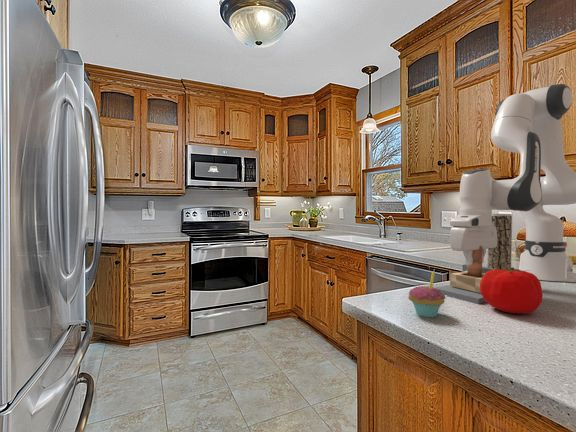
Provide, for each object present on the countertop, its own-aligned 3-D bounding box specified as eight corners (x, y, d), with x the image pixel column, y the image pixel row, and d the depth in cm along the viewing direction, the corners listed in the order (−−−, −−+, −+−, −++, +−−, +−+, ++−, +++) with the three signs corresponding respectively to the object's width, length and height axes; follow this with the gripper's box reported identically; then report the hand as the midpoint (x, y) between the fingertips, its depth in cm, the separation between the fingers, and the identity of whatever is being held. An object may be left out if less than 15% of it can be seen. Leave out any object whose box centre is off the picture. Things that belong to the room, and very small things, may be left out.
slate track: (466, 285, 108) (466, 264, 108) (511, 294, 96) (511, 271, 96) (433, 292, 99) (433, 269, 99) (478, 304, 87) (478, 277, 87)
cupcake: (449, 314, 79) (449, 267, 79) (437, 323, 73) (437, 272, 73) (416, 306, 85) (416, 263, 85) (402, 314, 79) (402, 267, 79)
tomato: (548, 323, 72) (548, 274, 72) (481, 314, 79) (481, 269, 79) (536, 308, 83) (536, 265, 83) (478, 301, 90) (478, 261, 89)
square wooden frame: (468, 282, 105) (468, 270, 105) (500, 288, 96) (500, 276, 96) (450, 286, 100) (450, 273, 100) (482, 293, 91) (482, 279, 91)
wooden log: (515, 288, 103) (515, 214, 103) (492, 287, 105) (493, 214, 104) (505, 283, 110) (505, 213, 109) (484, 283, 111) (484, 213, 111)
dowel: (471, 274, 101) (472, 244, 100) (484, 277, 97) (485, 245, 97) (464, 276, 99) (464, 244, 99) (477, 278, 95) (477, 246, 95)
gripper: (483, 219, 105) (482, 259, 106) (446, 220, 95) (445, 264, 96) (503, 219, 100) (502, 262, 100) (466, 221, 90) (465, 268, 90)
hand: (474, 263), depth 98 cm, fingers closed on dowel, 4 cm apart
